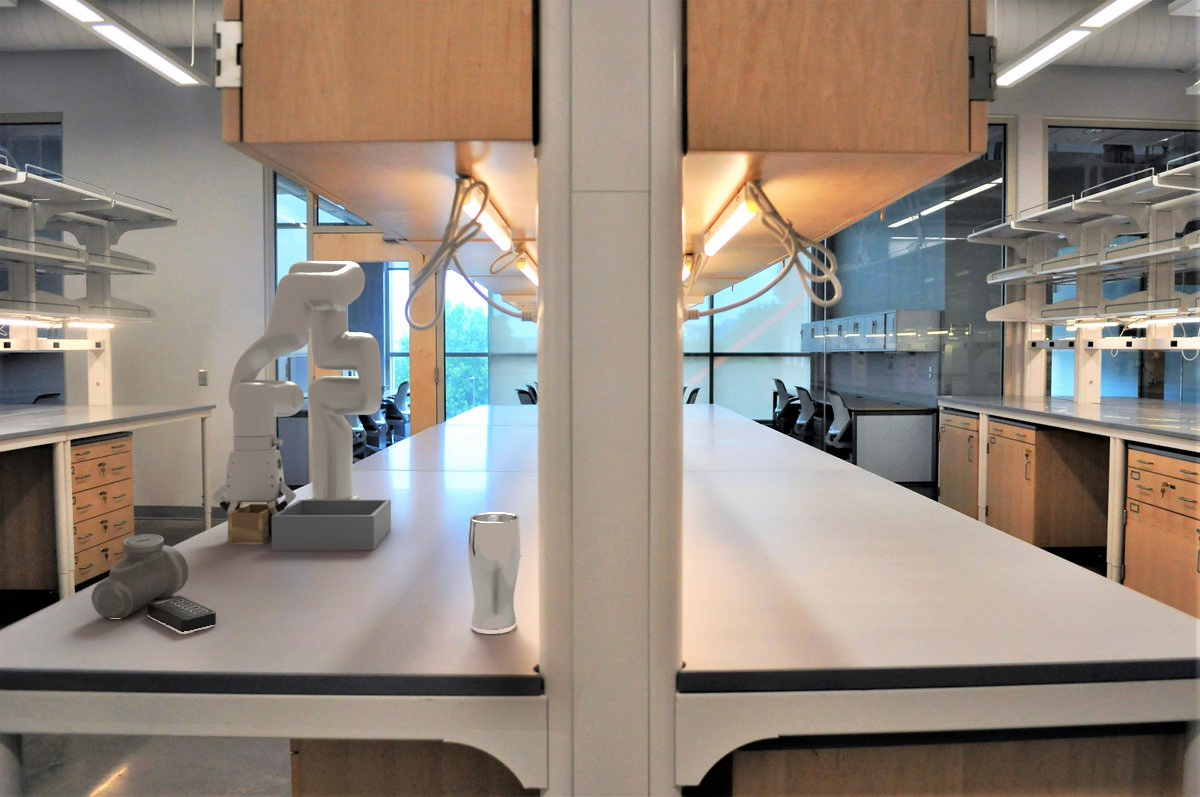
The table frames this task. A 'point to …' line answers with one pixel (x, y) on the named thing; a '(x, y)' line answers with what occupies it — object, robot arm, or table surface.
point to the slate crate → (331, 525)
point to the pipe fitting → (140, 576)
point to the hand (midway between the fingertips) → (254, 533)
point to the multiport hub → (181, 613)
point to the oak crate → (249, 524)
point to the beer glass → (494, 568)
